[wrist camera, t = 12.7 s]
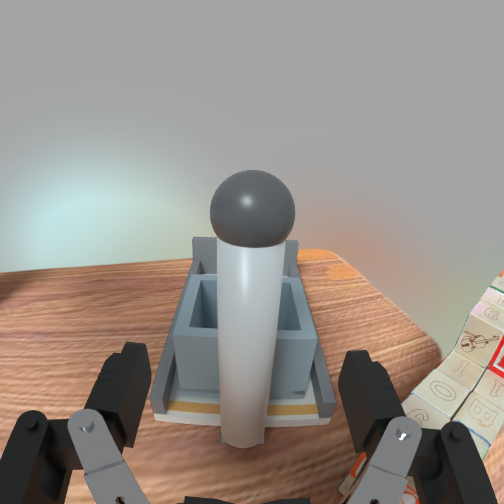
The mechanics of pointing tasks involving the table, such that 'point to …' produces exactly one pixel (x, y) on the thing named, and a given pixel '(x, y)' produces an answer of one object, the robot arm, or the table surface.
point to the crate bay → (208, 409)
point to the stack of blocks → (462, 383)
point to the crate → (246, 311)
